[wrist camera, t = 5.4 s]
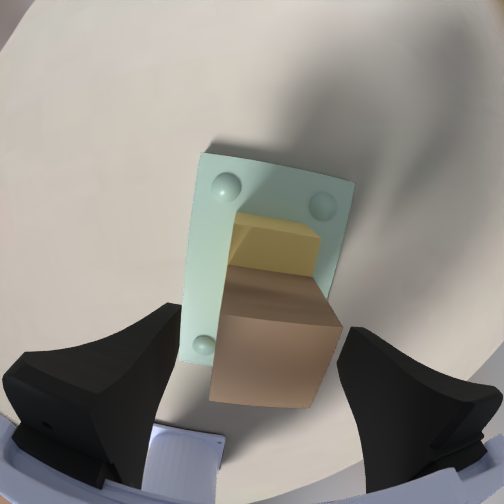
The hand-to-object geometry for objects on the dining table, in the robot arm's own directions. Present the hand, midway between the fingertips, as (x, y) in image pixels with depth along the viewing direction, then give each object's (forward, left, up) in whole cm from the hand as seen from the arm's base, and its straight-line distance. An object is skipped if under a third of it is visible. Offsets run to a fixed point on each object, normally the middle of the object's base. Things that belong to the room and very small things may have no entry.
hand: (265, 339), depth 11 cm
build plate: (0, 0, -7) cm, 7 cm away
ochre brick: (0, 0, -6) cm, 6 cm away
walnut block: (0, 0, -2) cm, 2 cm away
